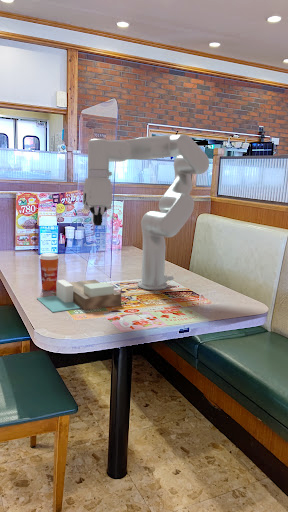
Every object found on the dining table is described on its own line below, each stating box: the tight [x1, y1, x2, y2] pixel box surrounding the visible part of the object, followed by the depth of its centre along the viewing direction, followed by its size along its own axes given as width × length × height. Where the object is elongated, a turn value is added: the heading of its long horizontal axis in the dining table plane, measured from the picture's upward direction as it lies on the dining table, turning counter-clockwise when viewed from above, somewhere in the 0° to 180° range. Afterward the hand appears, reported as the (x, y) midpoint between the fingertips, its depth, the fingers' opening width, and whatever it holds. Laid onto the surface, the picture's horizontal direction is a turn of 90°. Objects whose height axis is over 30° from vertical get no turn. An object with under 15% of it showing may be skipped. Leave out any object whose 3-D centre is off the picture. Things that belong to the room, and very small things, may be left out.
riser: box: [69, 279, 122, 311], centre depth 150 cm, size 14×22×4 cm, turn 32°
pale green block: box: [84, 281, 115, 297], centre depth 143 cm, size 6×9×3 cm, turn 122°
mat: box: [36, 294, 82, 313], centre depth 143 cm, size 10×17×1 cm, turn 32°
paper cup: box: [38, 252, 60, 292], centre depth 160 cm, size 8×8×14 cm
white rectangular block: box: [55, 279, 73, 303], centre depth 147 cm, size 6×9×3 cm
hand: (97, 225), depth 149 cm, fingers closed
